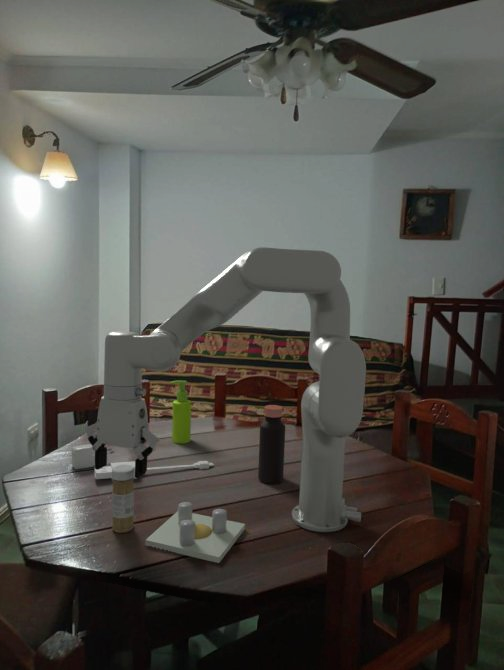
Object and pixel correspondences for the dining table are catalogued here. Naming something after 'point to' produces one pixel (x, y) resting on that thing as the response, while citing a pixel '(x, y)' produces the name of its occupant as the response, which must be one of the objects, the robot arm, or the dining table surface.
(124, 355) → the robot arm
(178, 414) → the soap dispenser
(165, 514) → the dining table surface
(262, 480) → the vinegar
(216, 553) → the pin board
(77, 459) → the power adapter
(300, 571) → the dining table surface
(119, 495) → the sprinkles bottle
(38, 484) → the dining table surface
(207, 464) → the charging cable
